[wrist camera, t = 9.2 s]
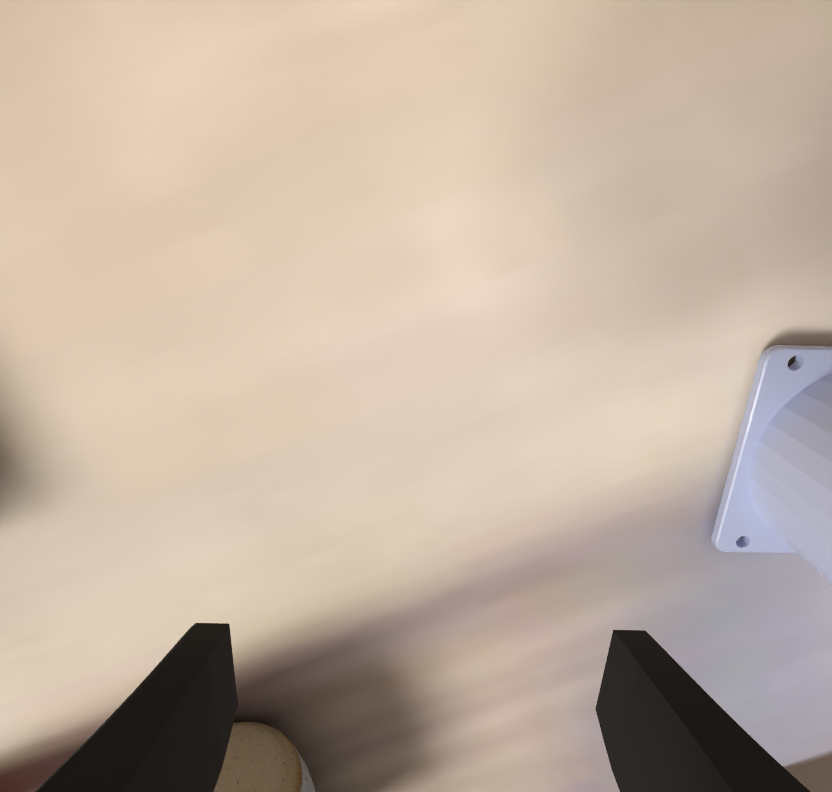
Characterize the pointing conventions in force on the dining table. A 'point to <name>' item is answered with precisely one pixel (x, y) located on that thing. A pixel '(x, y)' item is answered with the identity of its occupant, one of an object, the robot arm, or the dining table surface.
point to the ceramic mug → (262, 762)
